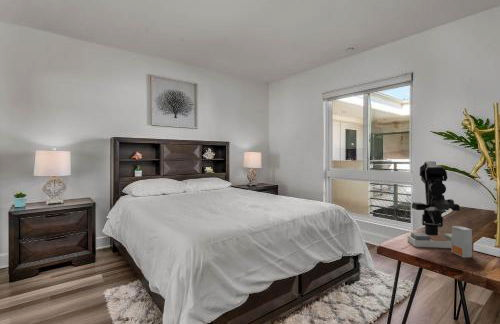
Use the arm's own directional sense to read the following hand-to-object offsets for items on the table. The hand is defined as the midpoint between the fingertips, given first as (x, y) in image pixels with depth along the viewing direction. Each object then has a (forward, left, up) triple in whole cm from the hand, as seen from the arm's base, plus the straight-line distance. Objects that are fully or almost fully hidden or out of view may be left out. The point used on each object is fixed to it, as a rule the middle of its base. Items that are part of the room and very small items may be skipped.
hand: (435, 224), depth 125 cm
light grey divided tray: (0, +1, -10) cm, 10 cm away
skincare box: (+13, +4, -10) cm, 17 cm away
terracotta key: (0, +1, -9) cm, 9 cm away
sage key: (0, +8, -8) cm, 11 cm away
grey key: (0, -7, -8) cm, 10 cm away
